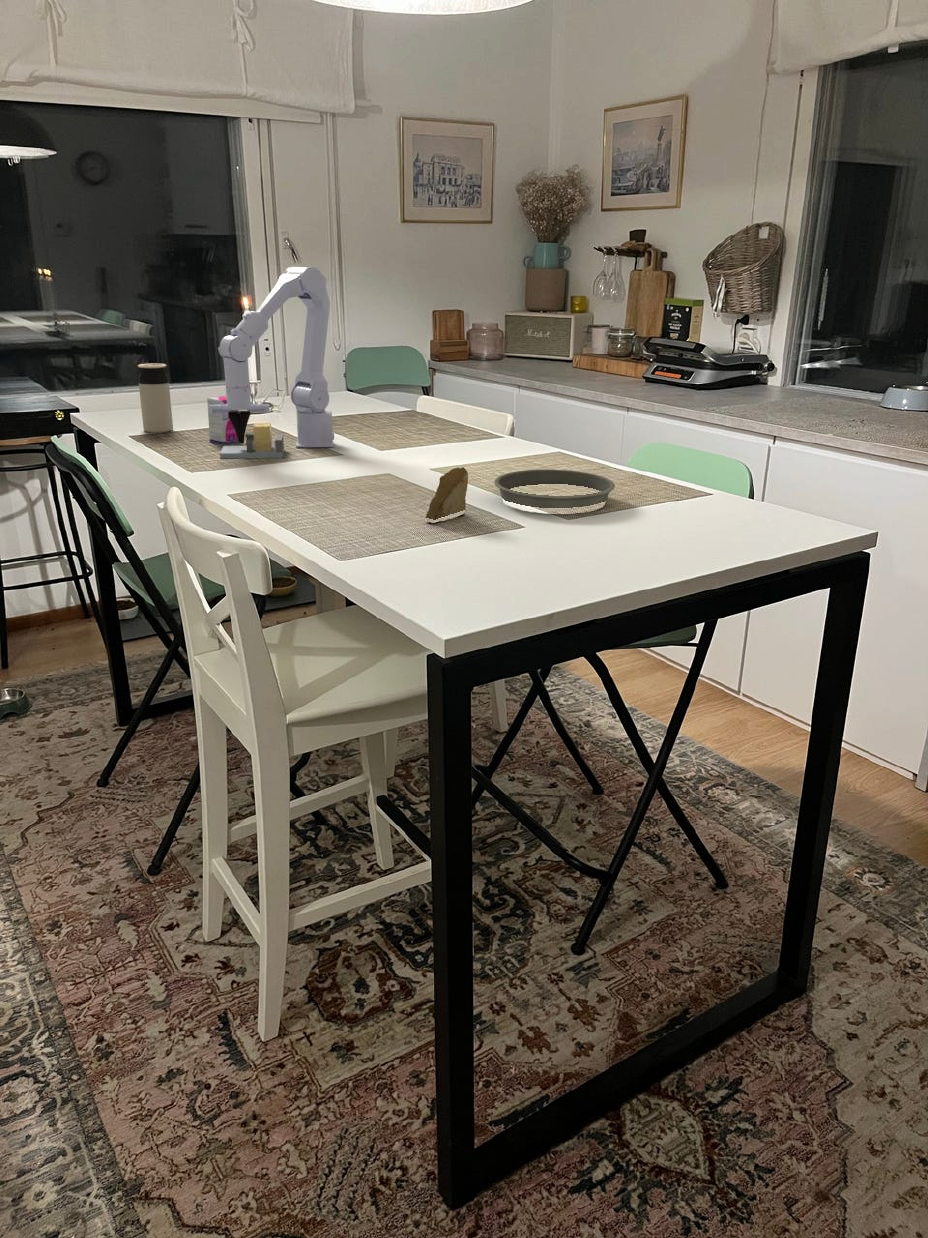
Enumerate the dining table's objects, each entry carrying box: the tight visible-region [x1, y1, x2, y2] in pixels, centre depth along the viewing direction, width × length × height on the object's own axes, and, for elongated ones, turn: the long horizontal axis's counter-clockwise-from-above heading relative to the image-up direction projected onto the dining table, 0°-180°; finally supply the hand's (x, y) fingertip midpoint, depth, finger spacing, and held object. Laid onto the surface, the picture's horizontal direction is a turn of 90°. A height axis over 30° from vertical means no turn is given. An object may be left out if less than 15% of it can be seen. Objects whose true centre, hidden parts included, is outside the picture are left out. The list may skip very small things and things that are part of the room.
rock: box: [425, 466, 469, 520], centre depth 183 cm, size 11×9×10 cm
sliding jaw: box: [244, 432, 255, 452], centre depth 238 cm, size 2×9×4 cm, turn 8°
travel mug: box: [137, 363, 174, 433], centre depth 266 cm, size 8×8×18 cm
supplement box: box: [207, 395, 239, 445], centre depth 253 cm, size 6×6×12 cm
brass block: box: [252, 422, 273, 451], centre depth 238 cm, size 4×6×6 cm, turn 8°
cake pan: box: [493, 468, 616, 508], centre depth 196 cm, size 25×25×4 cm
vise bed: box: [219, 433, 285, 459], centre depth 239 cm, size 15×10×4 cm, turn 98°
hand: (241, 442), depth 238 cm, fingers closed
